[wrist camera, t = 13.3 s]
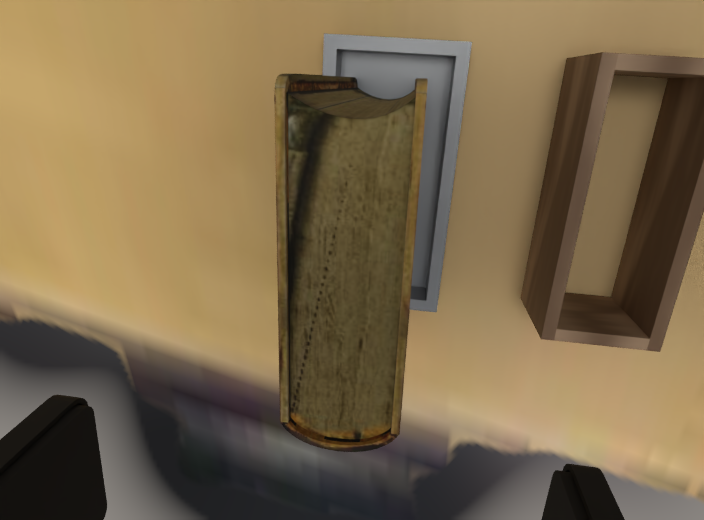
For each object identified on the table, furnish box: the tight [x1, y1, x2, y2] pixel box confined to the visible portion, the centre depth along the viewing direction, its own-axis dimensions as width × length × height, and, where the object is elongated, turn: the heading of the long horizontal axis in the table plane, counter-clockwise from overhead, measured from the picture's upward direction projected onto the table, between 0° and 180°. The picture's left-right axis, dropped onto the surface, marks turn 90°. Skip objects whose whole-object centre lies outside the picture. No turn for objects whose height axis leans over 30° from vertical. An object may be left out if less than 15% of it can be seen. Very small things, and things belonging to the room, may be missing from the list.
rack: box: [521, 52, 704, 352], centre depth 39 cm, size 9×21×8 cm, turn 176°
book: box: [275, 74, 428, 452], centre depth 32 cm, size 16×6×25 cm, turn 178°
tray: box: [323, 34, 472, 312], centre depth 43 cm, size 11×22×4 cm, turn 176°
